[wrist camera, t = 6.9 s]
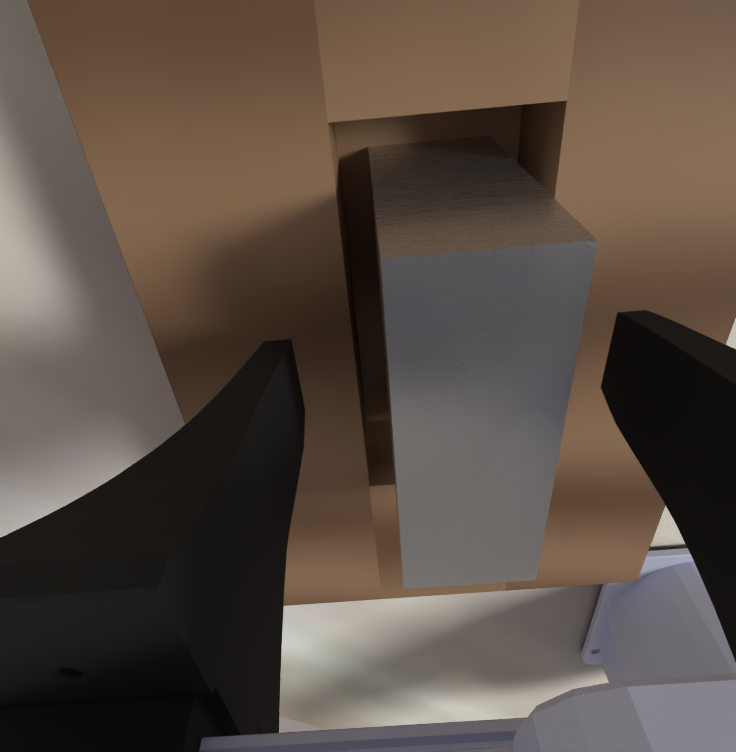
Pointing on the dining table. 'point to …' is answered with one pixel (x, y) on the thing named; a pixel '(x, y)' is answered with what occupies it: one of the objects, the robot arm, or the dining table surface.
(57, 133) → the dining table surface
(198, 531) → the robot arm
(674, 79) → the well
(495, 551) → the tall grey cuboid
